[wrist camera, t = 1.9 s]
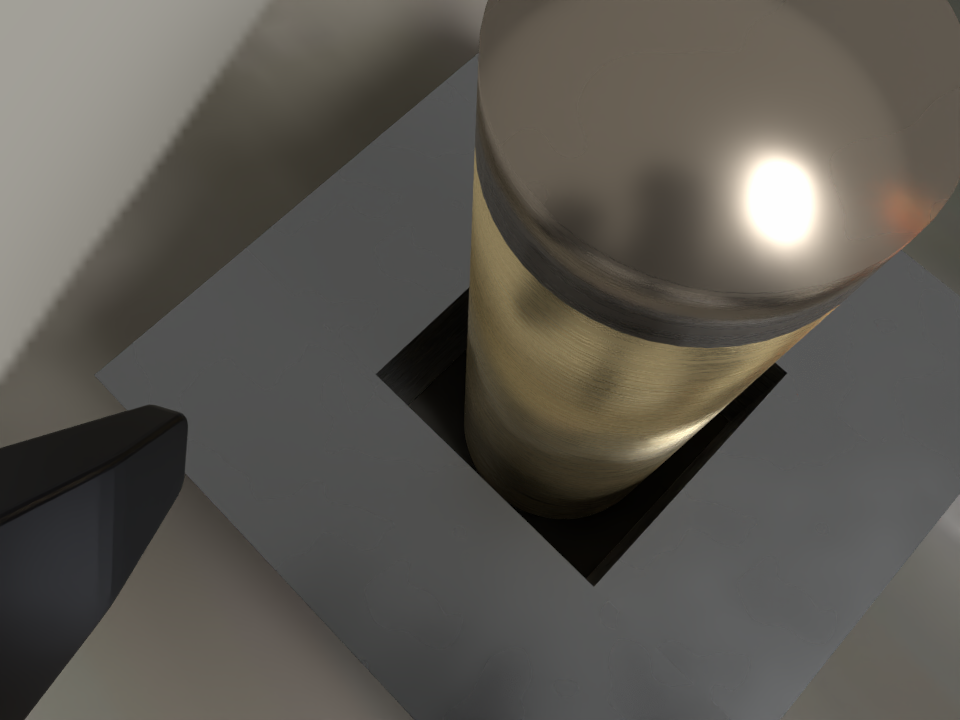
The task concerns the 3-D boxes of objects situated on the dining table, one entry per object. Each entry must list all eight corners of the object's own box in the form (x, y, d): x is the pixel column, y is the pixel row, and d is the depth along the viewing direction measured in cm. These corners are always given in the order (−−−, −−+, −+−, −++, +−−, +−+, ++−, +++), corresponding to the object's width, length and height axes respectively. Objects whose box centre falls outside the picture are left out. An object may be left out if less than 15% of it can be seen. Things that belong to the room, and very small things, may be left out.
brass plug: (566, 561, 21) (768, 400, 7) (423, 422, 22) (373, 58, 8) (695, 421, 22) (1074, 64, 8) (555, 296, 23) (695, -202, 9)
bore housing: (579, 874, 18) (611, 932, 15) (158, 423, 21) (94, 375, 18) (951, 419, 22) (1055, 372, 18) (546, 84, 25) (562, -19, 21)
